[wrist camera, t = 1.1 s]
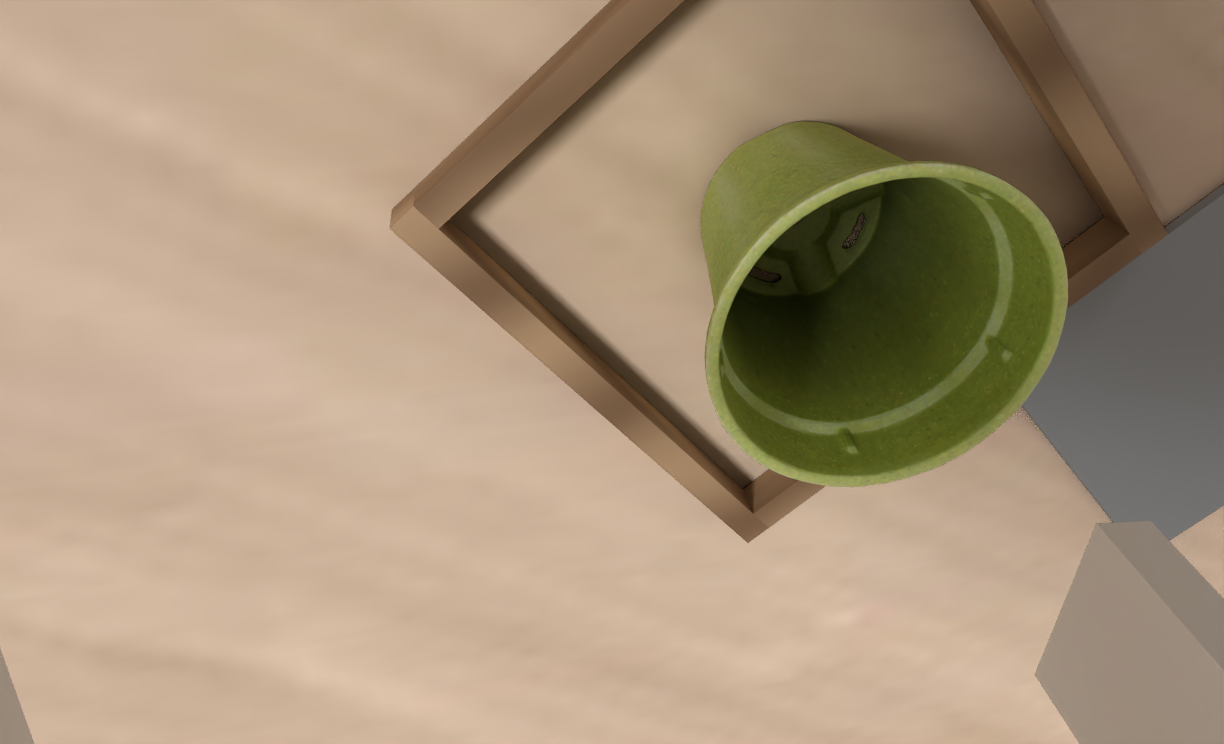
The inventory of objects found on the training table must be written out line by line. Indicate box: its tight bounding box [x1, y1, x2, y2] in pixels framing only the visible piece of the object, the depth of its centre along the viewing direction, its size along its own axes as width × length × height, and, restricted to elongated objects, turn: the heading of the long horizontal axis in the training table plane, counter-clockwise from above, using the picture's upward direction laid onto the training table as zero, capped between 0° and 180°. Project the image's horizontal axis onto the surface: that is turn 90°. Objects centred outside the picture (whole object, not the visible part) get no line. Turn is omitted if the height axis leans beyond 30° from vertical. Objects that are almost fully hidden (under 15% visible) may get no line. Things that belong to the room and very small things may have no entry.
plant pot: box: [701, 121, 1068, 487], centre depth 29 cm, size 9×9×9 cm
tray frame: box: [390, 0, 1168, 543], centre depth 32 cm, size 18×18×2 cm
